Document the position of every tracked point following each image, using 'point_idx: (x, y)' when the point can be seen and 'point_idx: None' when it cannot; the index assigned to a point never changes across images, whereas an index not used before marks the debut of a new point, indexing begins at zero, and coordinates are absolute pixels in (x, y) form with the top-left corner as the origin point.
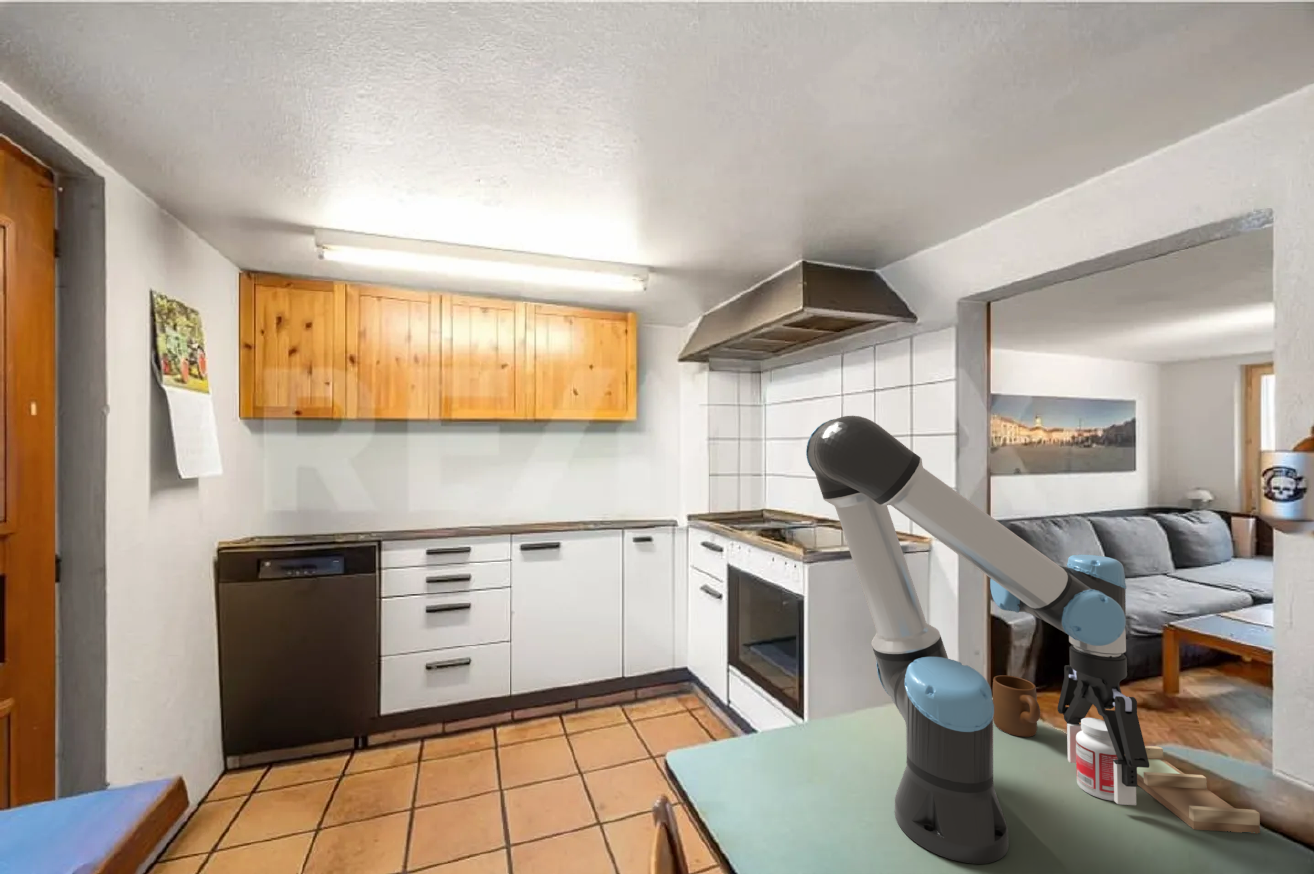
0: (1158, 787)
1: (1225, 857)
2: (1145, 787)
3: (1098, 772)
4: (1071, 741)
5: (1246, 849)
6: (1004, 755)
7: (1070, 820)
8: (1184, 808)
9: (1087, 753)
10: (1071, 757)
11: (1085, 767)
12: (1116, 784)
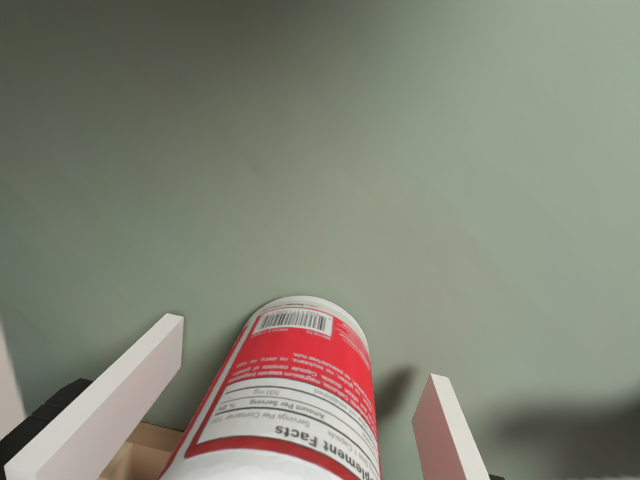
0: None
1: (38, 389)
2: None
3: (223, 370)
4: (458, 467)
5: None
6: (607, 176)
7: (139, 96)
8: None
9: (228, 419)
10: (434, 394)
11: (268, 352)
12: (124, 360)
